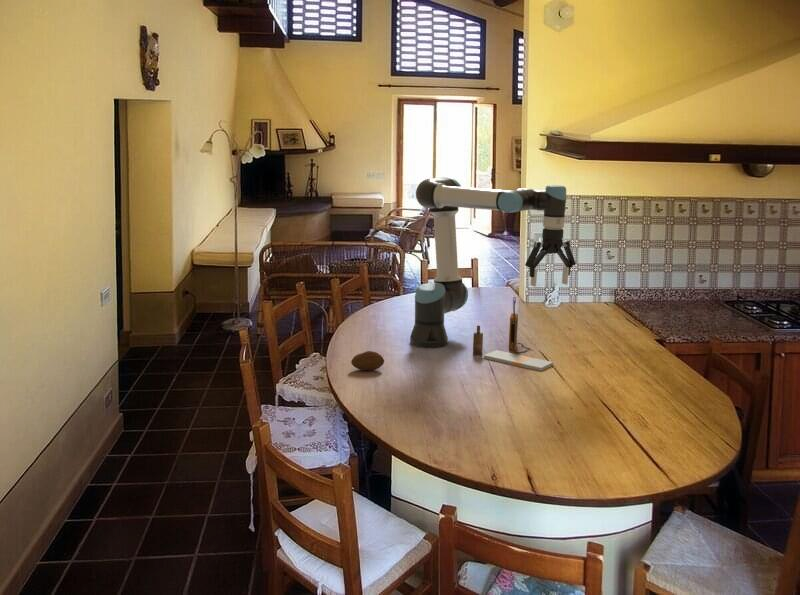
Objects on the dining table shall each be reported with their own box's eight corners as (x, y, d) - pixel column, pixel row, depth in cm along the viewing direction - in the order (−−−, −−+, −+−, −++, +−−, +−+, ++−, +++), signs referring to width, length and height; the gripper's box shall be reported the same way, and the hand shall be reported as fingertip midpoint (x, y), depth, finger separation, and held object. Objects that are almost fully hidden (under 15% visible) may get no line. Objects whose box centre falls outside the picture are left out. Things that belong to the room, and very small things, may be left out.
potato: (350, 368, 275) (350, 349, 274) (381, 366, 277) (382, 347, 276) (352, 373, 269) (352, 354, 267) (385, 372, 271) (385, 353, 269)
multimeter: (534, 354, 295) (536, 303, 291) (507, 352, 297) (510, 301, 293) (535, 344, 309) (537, 295, 305) (510, 342, 311) (512, 294, 307)
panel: (483, 358, 289) (483, 355, 289) (496, 353, 296) (496, 350, 296) (541, 371, 275) (541, 367, 274) (553, 365, 282) (553, 362, 281)
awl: (471, 353, 295) (471, 325, 292) (476, 351, 297) (477, 324, 295) (478, 355, 292) (480, 327, 290) (484, 353, 295) (485, 325, 293)
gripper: (529, 230, 275) (525, 288, 280) (588, 228, 284) (583, 285, 289) (518, 227, 282) (514, 284, 286) (576, 225, 291) (571, 281, 295)
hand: (549, 284), depth 288 cm, fingers open, 13 cm apart
